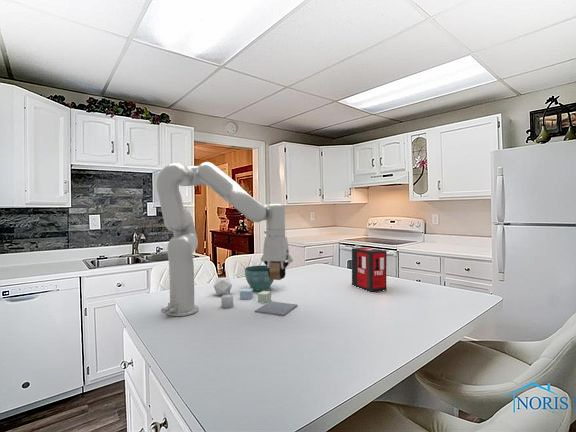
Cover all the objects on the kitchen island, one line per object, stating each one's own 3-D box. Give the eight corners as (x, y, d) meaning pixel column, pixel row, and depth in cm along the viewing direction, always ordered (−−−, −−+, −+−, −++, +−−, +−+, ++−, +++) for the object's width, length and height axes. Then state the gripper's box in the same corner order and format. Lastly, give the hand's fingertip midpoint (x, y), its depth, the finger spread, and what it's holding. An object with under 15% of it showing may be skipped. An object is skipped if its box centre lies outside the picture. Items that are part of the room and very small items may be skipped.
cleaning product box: (386, 290, 163) (386, 251, 162) (372, 293, 159) (372, 252, 158) (365, 283, 178) (365, 247, 177) (351, 285, 174) (351, 248, 173)
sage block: (265, 303, 144) (265, 294, 143) (258, 302, 145) (257, 293, 145) (271, 300, 148) (271, 291, 148) (263, 299, 150) (263, 290, 150)
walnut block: (279, 280, 132) (279, 262, 132) (269, 279, 134) (269, 262, 134) (284, 277, 136) (283, 261, 136) (274, 277, 138) (274, 260, 138)
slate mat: (283, 316, 126) (283, 314, 126) (254, 312, 131) (254, 310, 131) (297, 305, 139) (297, 304, 139) (270, 302, 144) (270, 301, 144)
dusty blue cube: (250, 300, 149) (250, 291, 149) (240, 299, 149) (239, 291, 149) (253, 297, 154) (252, 288, 154) (242, 296, 154) (242, 288, 154)
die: (225, 299, 152) (236, 280, 156) (208, 290, 152) (220, 271, 156) (225, 300, 160) (235, 282, 164) (209, 292, 160) (220, 274, 164)
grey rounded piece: (229, 308, 136) (228, 298, 136) (219, 307, 138) (219, 297, 138) (235, 305, 140) (235, 295, 140) (226, 304, 143) (225, 294, 142)
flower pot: (271, 294, 158) (271, 271, 158) (240, 292, 162) (240, 270, 161) (279, 286, 174) (279, 265, 174) (250, 284, 177) (250, 265, 177)
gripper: (253, 233, 134) (254, 277, 135) (291, 234, 127) (291, 281, 128) (262, 232, 141) (263, 274, 142) (298, 233, 134) (299, 277, 135)
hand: (276, 276), depth 135 cm, fingers closed on walnut block, 4 cm apart
